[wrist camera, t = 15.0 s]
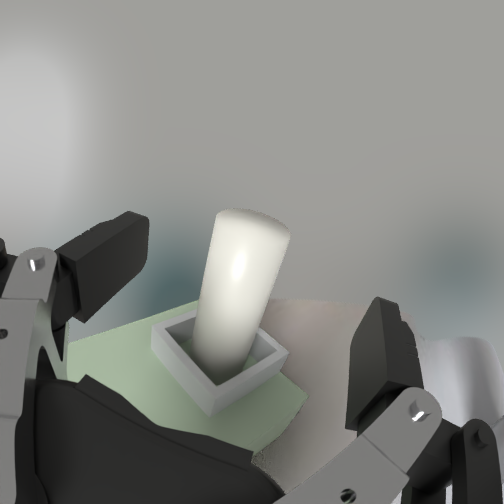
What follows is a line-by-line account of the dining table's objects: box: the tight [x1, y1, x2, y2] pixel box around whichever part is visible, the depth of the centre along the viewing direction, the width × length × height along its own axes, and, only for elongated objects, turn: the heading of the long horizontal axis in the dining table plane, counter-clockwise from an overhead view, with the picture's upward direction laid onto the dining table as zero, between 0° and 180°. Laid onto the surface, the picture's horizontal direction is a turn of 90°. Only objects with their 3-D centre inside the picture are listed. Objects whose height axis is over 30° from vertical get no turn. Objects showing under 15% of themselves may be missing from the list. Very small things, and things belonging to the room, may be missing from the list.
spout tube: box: [189, 209, 291, 385], centre depth 23 cm, size 5×5×14 cm
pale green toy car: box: [67, 300, 309, 457], centre depth 25 cm, size 16×21×11 cm
